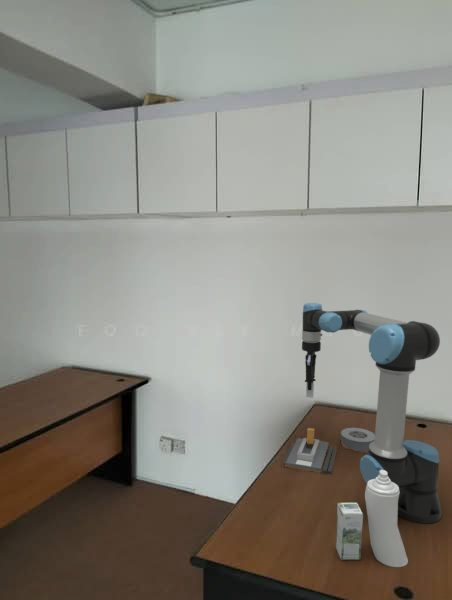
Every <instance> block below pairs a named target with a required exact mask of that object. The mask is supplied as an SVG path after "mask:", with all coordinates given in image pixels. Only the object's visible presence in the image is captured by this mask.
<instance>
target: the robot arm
mask: <svg viewBox="0 0 452 600" xmlns="http://www.w3.org/2000/svg"><path fill="white" fill-rule="evenodd" d="M302 306H303V307H302V308H303V309H302V330H301V331H302V332H301V333H302V334H301V339H302V342H301V350H302V351H304V352H307V353H306V354H305V357H304V359H305V362H304V363H305V380H304V382H305V383H306V388H305V389H306V390H305V391H306V393H305V395H306V396H305V398H314V385H315V383H314V382H316V379H315V377H316V376H315V373H316V360H317V354H316V353H318V352H320V351H321V348H322V347H321V346H322V345H321V344H322V343H321V340H322V337H323V333H322V331H323V332H326V333H337V332H338V331H345V330H346V331H347V330H348V331H349V330H353V331H357V332H360V333H364V334H368V335H370V338H369V342H368V351H369V353H370V357H371V359H372V360H373V361H374V362H375V367H376V368H377V369H378V370H379V379H378V381H379V382H378V391H377V392H378V393H377V394H378V395H377V407H376V416H375V417H376V418H375V429H374V434H375V441H373V442H372V443H370V445H369V452H368V453H367V454H365V455H364V456H362V457H361V458H360V461H359V469H360V473H361V476H362V478H363V480H364V482H365V484H366V485H367V483H368V481H369V480H372V479H376V477H378V475H379V471H380V470H385V471H386V472H387V473H388V477H389V479H390V480H391V482H393V483H395V484H396V485H397V486H398V487H399V491H400V493H399V498H398V515H399V516H400V517H402V518H404V519H405V520H408V521H410V522H414V523H419V524H434V523H437V522H438V521H440V520H441V518H442V510H443V509H442V507H441V502H440V499H439V495H438V484H439V483H438V481H439V469H440V467H439V466H440V454H439V451H438V450H437V449H436V448H435V447H434V446H433V445H430V444H428V443H425V442H422V441H418V440H415V439H414V440H412V439H406V440H405V439H404V436H405V425H406V414H407V403H408V394H409V384H410V383H409V381H410V375H411V374H412V373H413V372H415V371H416V364H417V361H420V360H426V359H428V358H431V357H433V356H434V355H435V354H436V353H437V351H438V350H439V347H440V344H441V339H440V334H439V332H438V330H437V329H436V328H435V327H434V326H432V325H431V324H429V323H426V322H419V321H416V320H410V321H408V322H406V321H402V320H397V319H393V318H390V317H389V318H388V317H384V316H382V315H381V316H380V315H377V314H373V313H372V314H371V313H368V312H367V310H363V309H354V310H353V309H351V310H350V309H349V310H333V311H327V310H323V305H322V304H320V303H318V302H316V303H315V302H308V303H304V304H303V305H302Z"/></svg>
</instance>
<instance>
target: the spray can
mask: <svg viewBox="0 0 452 600" xmlns="http://www.w3.org/2000/svg"><path fill="white" fill-rule="evenodd" d="M399 493H400V491H399V487H398V486H397V485H396V484H395V483H393V482H391V480H390V479H389V477H388V473H387V472H386V471H385V470H380V471H379V475H378V477H376V479H372V480H369V481H368V483H367V484H366V485H365V492H364V498H365V506H366V514H367V523H368V530H369V539H370V546H371V550H372V552H373V555H374V558H375V559H376V560H377V561H378V562H379V563H381V564H382V565H385V566H387V567H392V568H401V567H405V566H406V565H408V563H409V560H408V557H407V554H406V553H407V552H406V549H405V546H404V542H403V540H402V536H401V533H400V530H399V527H398V515H399V514H398V498H399Z"/></svg>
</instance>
